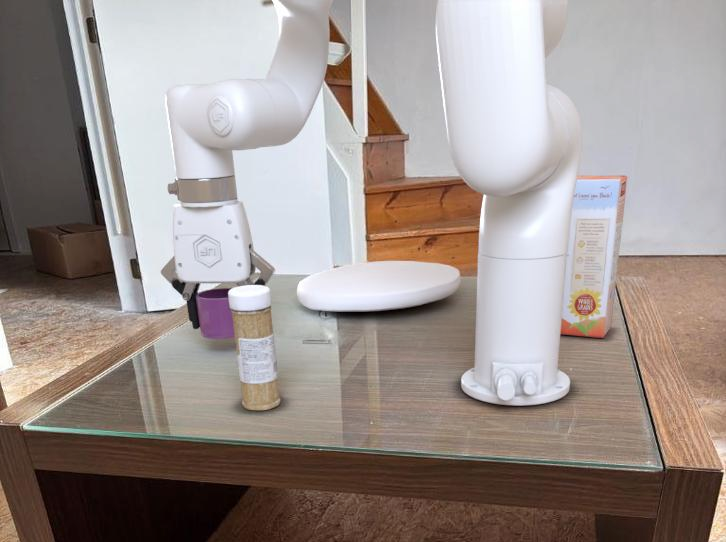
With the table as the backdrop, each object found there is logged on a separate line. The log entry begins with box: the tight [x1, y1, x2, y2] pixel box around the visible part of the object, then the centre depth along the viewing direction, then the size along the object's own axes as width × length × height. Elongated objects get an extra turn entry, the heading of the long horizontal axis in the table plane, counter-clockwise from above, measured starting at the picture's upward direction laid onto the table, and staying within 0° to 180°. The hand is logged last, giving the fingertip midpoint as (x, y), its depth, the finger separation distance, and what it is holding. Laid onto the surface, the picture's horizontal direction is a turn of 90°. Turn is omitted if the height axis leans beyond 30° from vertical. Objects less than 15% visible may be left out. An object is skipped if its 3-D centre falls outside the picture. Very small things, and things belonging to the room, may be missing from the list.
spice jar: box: [228, 285, 282, 412], centre depth 81 cm, size 5×5×14 cm
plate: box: [296, 260, 462, 313], centre depth 125 cm, size 28×6×27 cm
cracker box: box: [560, 174, 628, 339], centre depth 102 cm, size 14×6×21 cm, turn 63°
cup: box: [196, 287, 235, 340], centre depth 102 cm, size 7×7×6 cm
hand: (224, 325), depth 103 cm, fingers closed on cup, 6 cm apart
